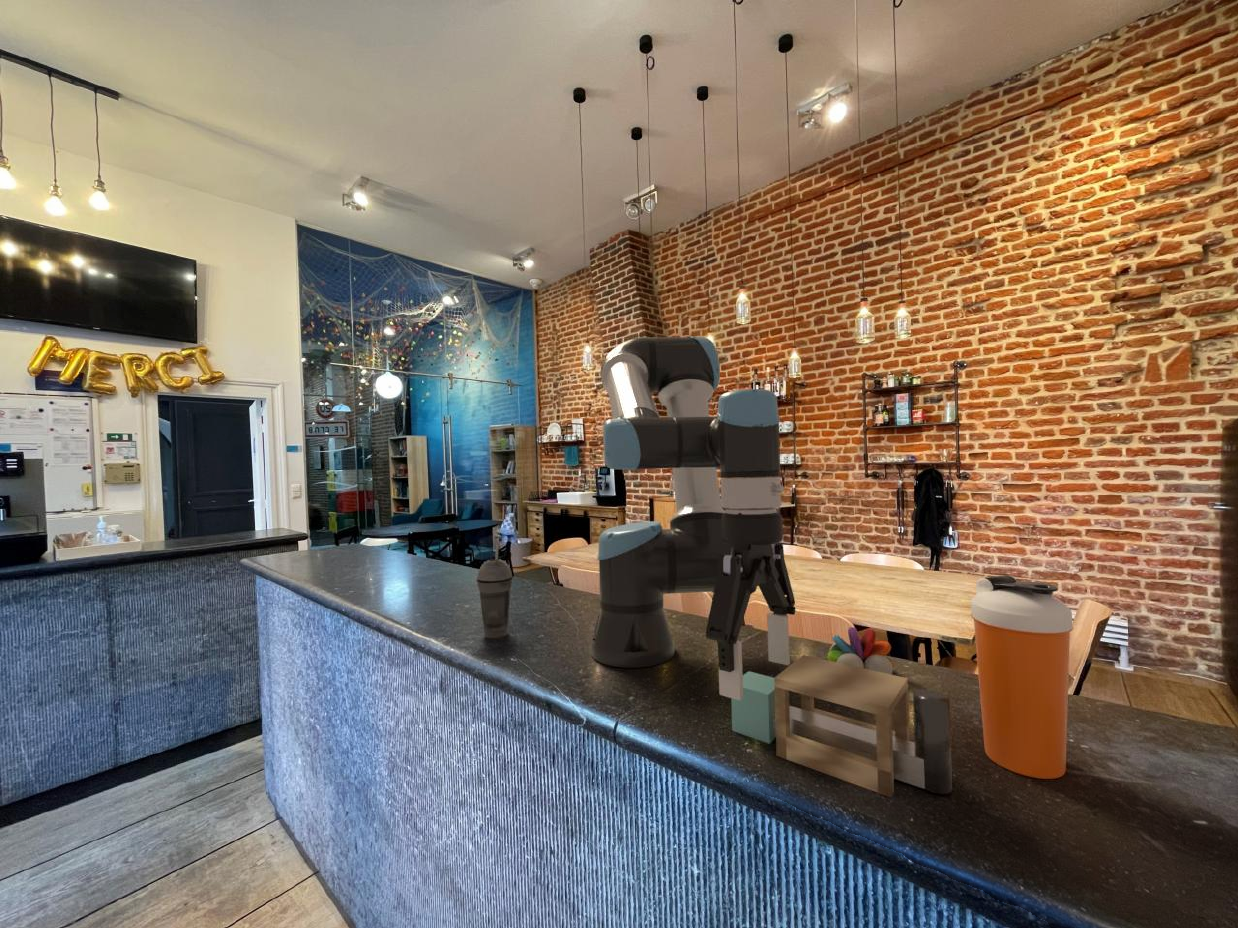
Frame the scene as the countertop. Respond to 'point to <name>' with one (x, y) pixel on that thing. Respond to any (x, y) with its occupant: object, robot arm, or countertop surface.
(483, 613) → the beverage cup
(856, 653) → the rainbow segmented toy
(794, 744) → the tunnel
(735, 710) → the block
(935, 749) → the hammer
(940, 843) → the countertop surface
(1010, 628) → the shaker bottle
